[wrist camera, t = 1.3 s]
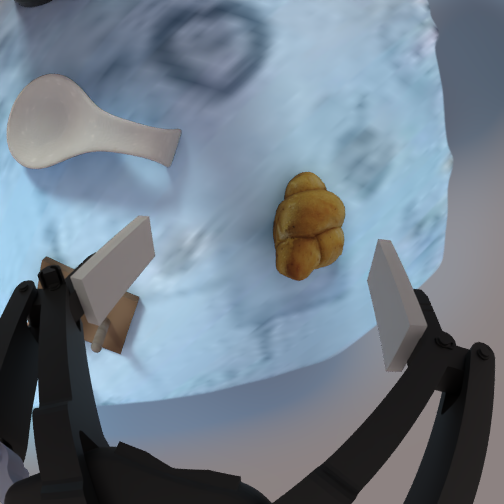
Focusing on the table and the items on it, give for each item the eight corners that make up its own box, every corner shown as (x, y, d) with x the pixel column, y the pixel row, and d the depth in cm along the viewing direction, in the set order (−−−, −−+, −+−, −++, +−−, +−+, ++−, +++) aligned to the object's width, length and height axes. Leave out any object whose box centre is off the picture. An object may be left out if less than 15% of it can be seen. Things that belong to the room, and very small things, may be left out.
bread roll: (275, 166, 36) (298, 171, 28) (341, 177, 38) (374, 185, 31) (261, 261, 40) (279, 287, 32) (324, 264, 42) (351, 287, 35)
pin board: (38, 311, 34) (17, 342, 27) (46, 256, 32) (19, 281, 25) (121, 348, 39) (113, 384, 32) (139, 296, 37) (130, 330, 30)
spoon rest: (11, 160, 27) (-18, 165, 20) (32, 77, 24) (6, 67, 17) (164, 192, 34) (158, 202, 27) (192, 101, 31) (193, 89, 24)
